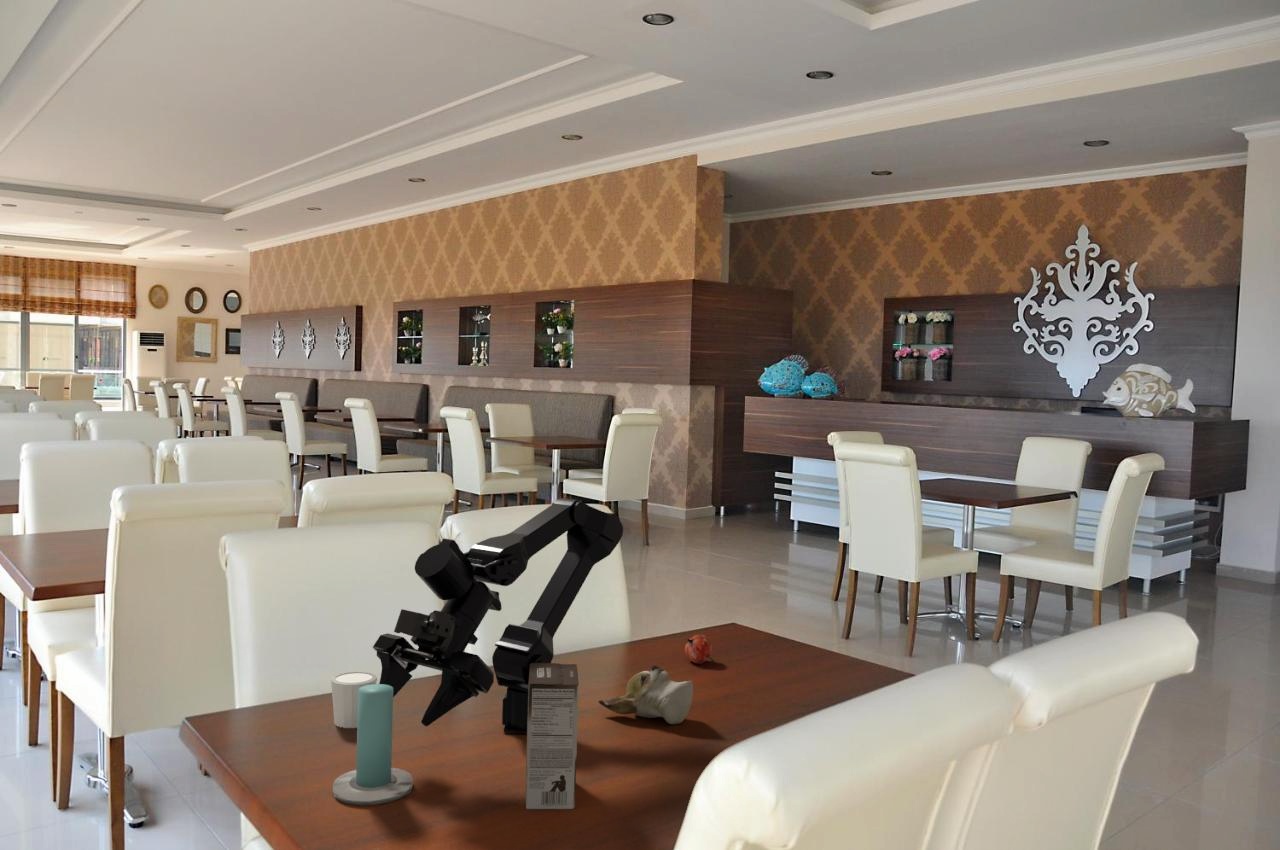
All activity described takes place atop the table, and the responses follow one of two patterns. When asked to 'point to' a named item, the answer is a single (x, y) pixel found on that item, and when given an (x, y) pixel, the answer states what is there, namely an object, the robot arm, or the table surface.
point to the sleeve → (374, 735)
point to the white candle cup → (348, 696)
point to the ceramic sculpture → (654, 697)
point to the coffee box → (552, 736)
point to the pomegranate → (698, 648)
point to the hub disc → (372, 789)
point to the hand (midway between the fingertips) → (399, 717)
